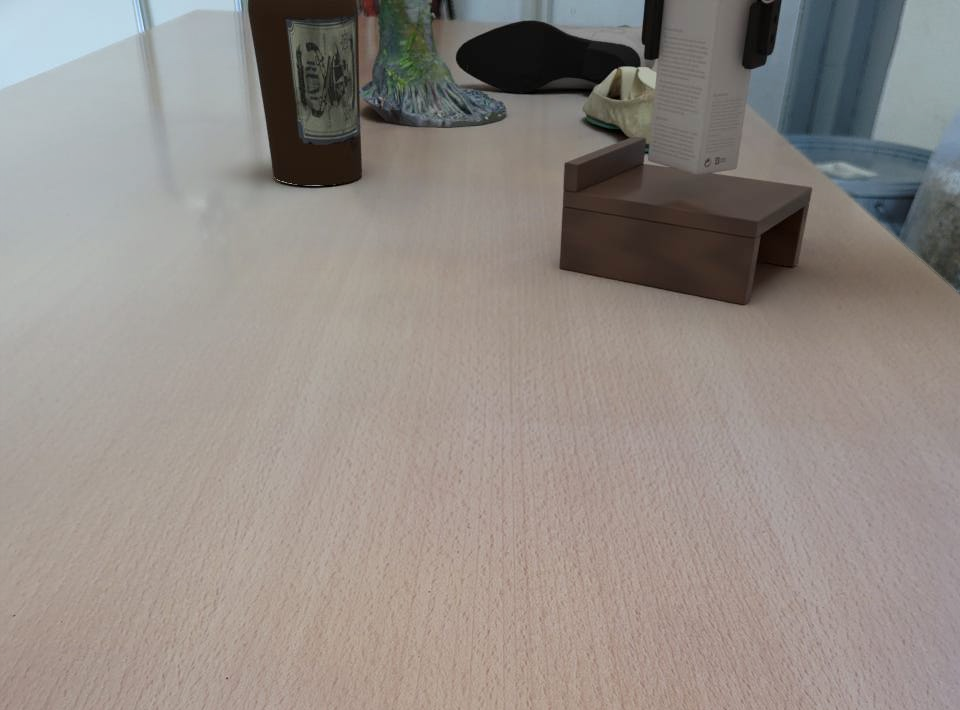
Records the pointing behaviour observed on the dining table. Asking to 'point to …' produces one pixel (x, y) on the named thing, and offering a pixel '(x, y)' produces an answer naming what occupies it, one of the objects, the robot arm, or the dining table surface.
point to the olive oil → (309, 87)
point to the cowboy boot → (550, 55)
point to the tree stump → (420, 74)
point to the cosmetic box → (700, 85)
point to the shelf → (676, 224)
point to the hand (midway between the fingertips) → (704, 60)
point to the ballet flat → (624, 102)
